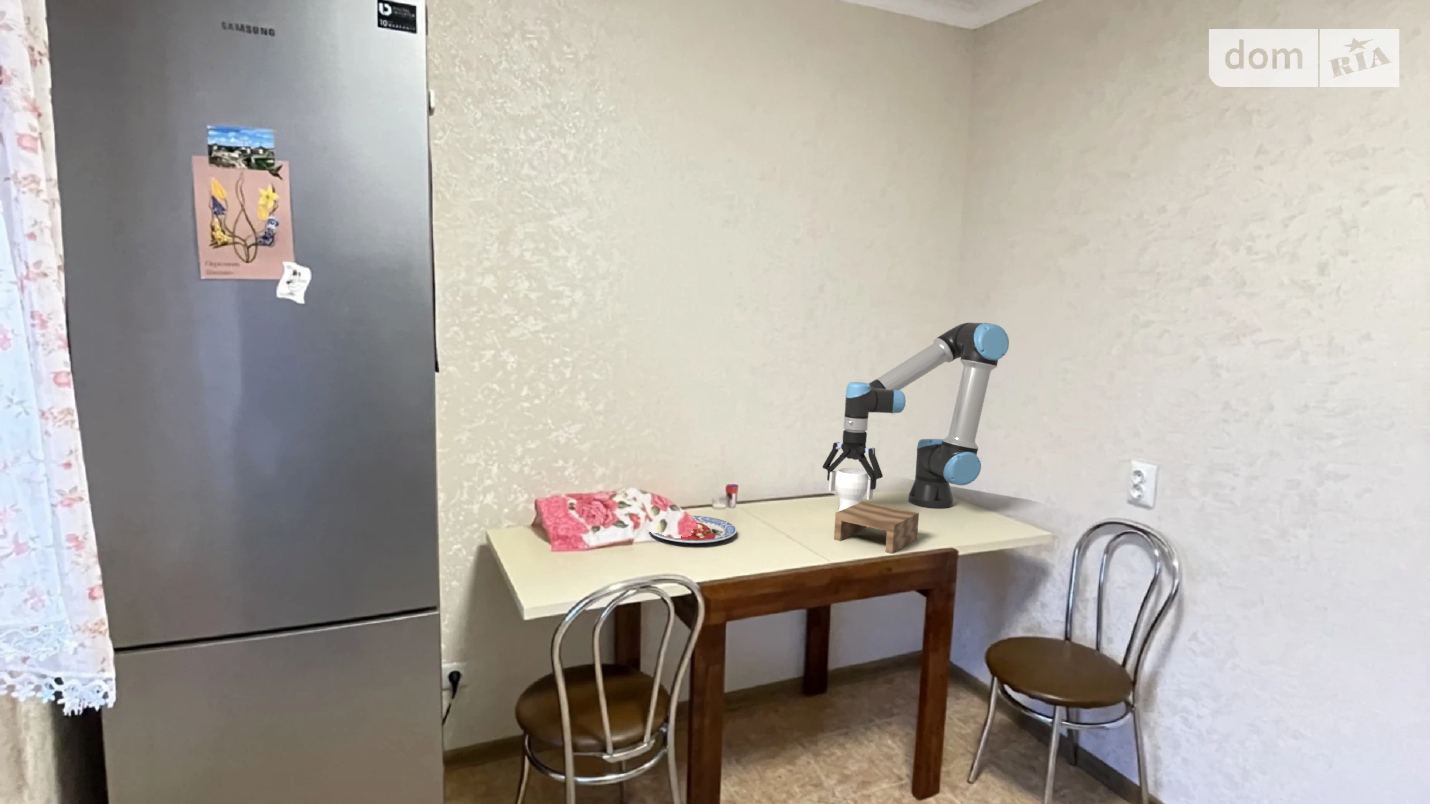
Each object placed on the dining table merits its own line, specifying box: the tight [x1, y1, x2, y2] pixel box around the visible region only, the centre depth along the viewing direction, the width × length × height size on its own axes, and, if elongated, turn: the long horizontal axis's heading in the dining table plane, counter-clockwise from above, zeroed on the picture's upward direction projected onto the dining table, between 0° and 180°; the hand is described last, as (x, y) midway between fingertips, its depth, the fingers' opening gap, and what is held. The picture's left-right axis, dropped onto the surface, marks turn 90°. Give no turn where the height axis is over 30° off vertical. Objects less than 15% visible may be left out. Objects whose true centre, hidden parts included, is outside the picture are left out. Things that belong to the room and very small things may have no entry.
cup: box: [835, 467, 870, 512], centre depth 236 cm, size 11×11×15 cm
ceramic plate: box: [651, 515, 737, 544], centre depth 211 cm, size 26×26×3 cm
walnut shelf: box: [833, 501, 920, 554], centre depth 213 cm, size 18×18×8 cm
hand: (850, 495), depth 236 cm, fingers open, 13 cm apart
